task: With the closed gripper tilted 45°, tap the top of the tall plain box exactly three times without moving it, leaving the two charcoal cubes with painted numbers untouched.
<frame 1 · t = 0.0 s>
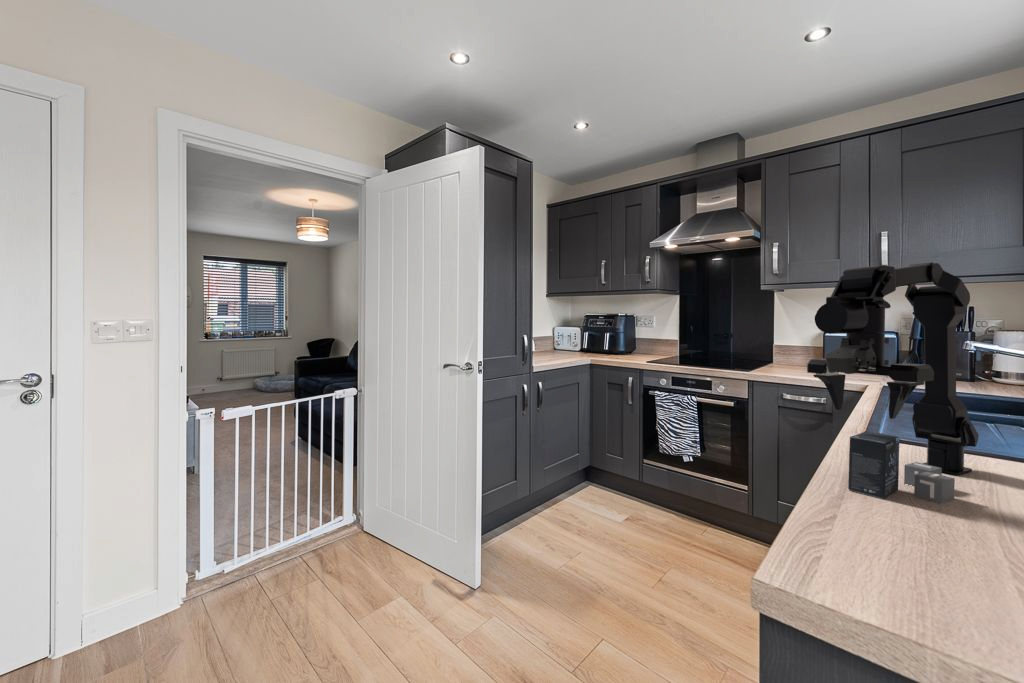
hand: (864, 414, 84), 15 cm above the counter, tool pointing down, fingers open, 9 cm apart
marked cube seven: (933, 497, 80), on the counter
marked cube one: (922, 486, 86), on the counter
box: (873, 491, 84), on the counter
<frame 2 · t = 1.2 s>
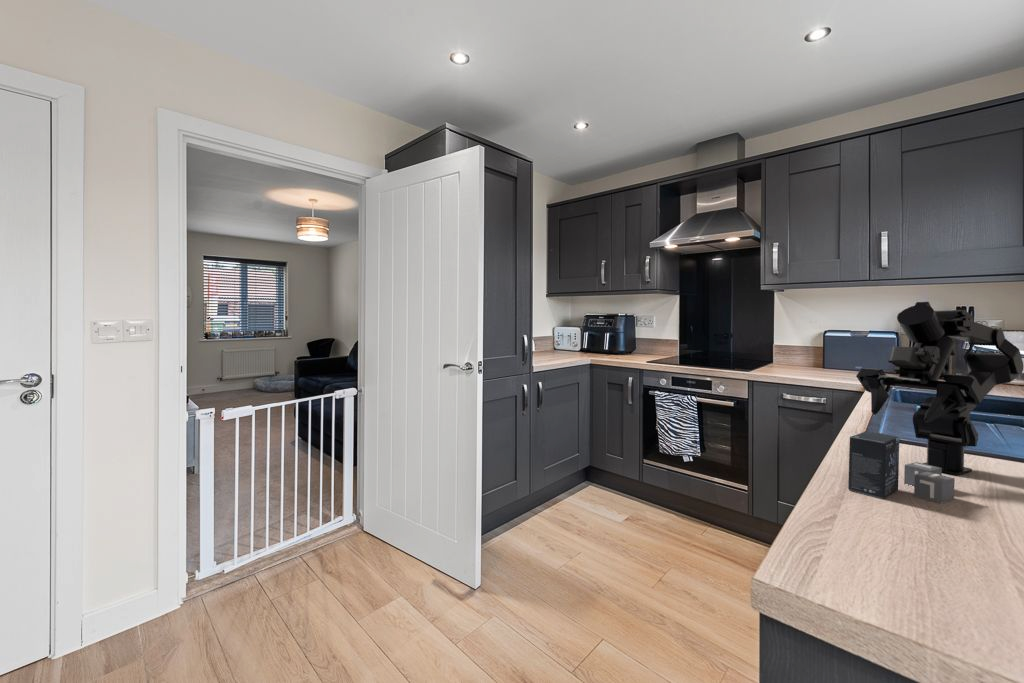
hand: (898, 417, 87), 13 cm above the counter, tool tilted 45°, fingers open, 8 cm apart
nothing on the counter moved.
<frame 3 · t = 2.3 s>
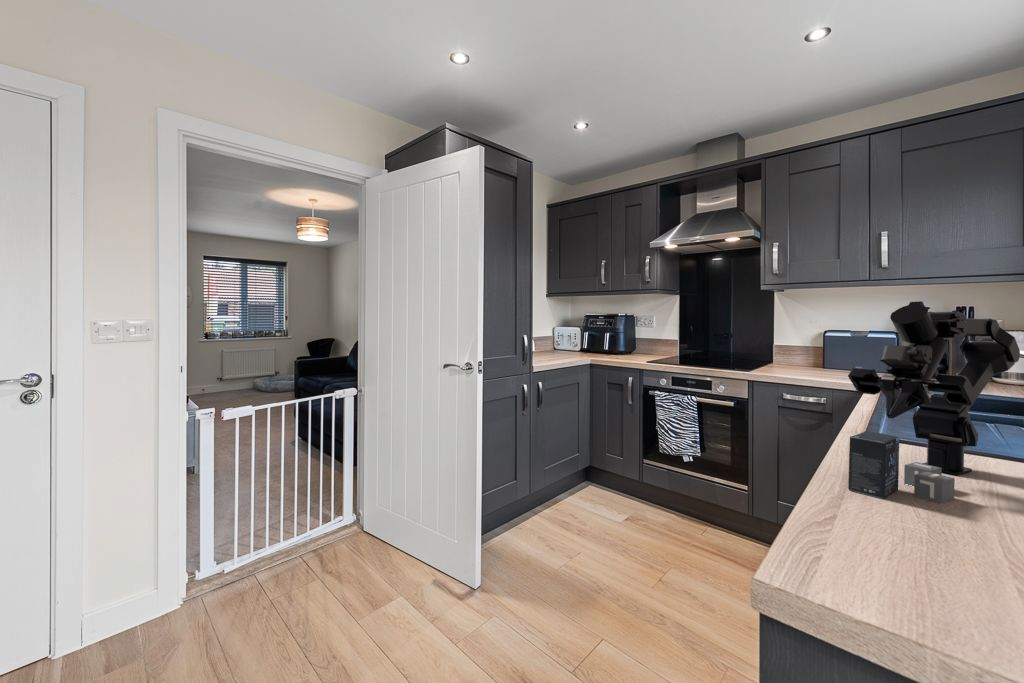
hand: (889, 416, 86), 14 cm above the counter, tool tilted 45°, fingers closed
nothing on the counter moved.
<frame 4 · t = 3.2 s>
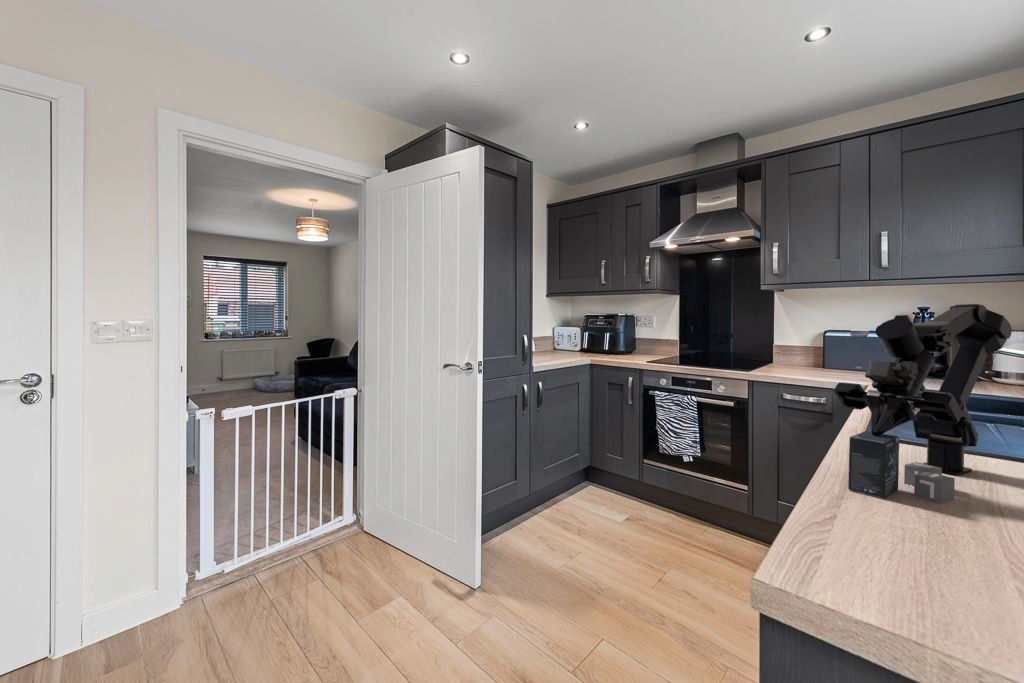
hand: (874, 434, 84), 11 cm above the counter, tool tilted 45°, fingers closed, pressing on box
box: (873, 491, 84), on the counter, touching gripper
everything else where it was.
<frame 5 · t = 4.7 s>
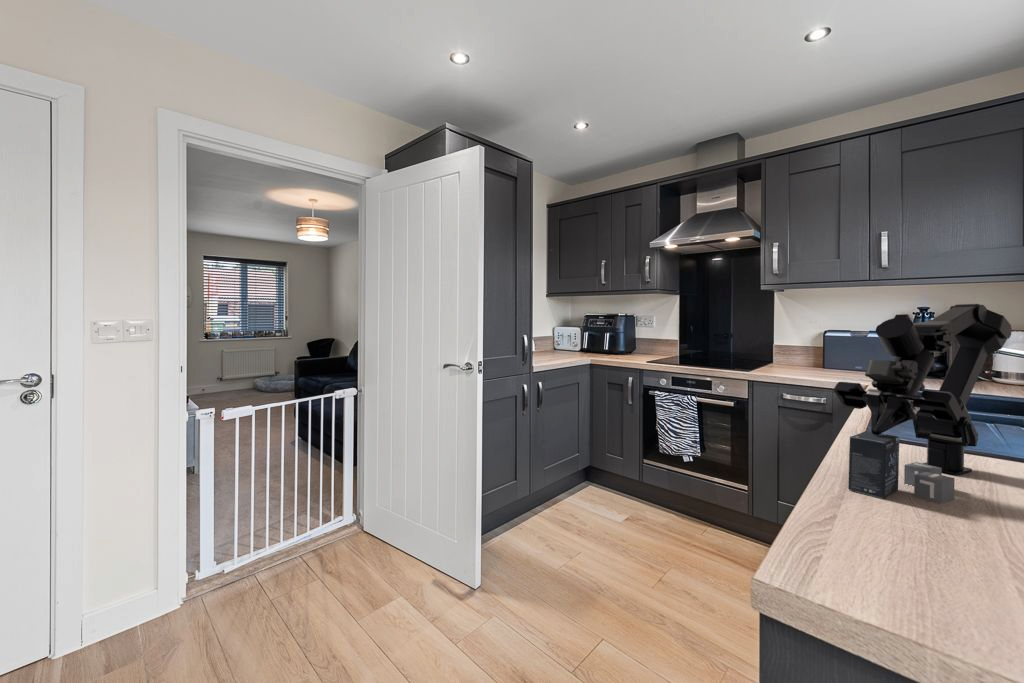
hand: (874, 433, 84), 11 cm above the counter, tool tilted 45°, fingers closed
box: (873, 491, 84), on the counter
everything else where it was.
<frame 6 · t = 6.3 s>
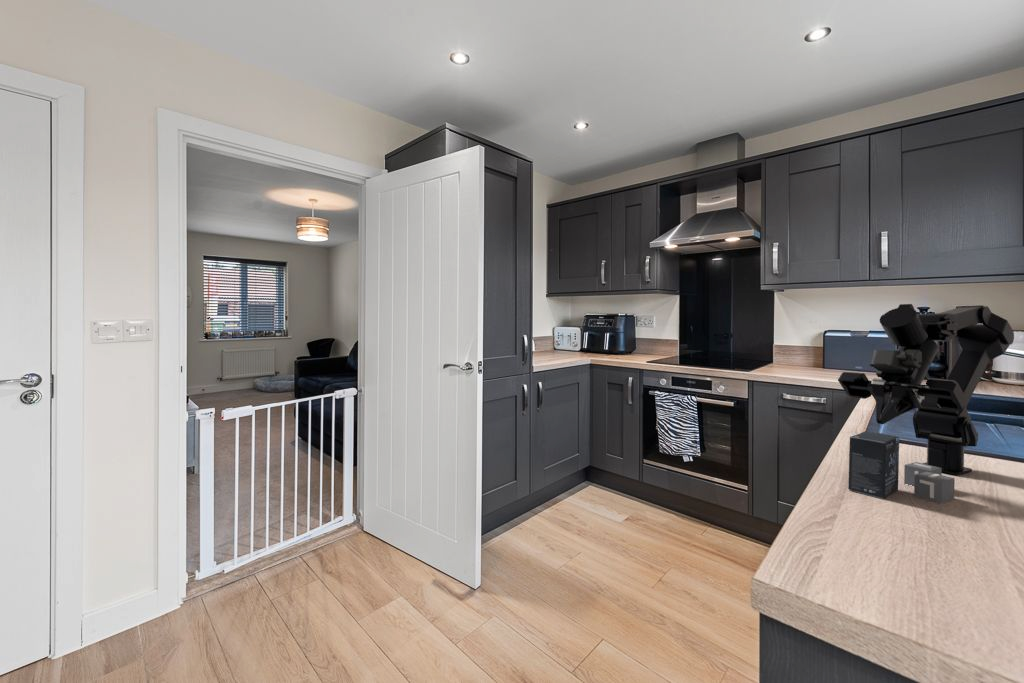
hand: (879, 422, 84), 13 cm above the counter, tool tilted 45°, fingers closed
nothing on the counter moved.
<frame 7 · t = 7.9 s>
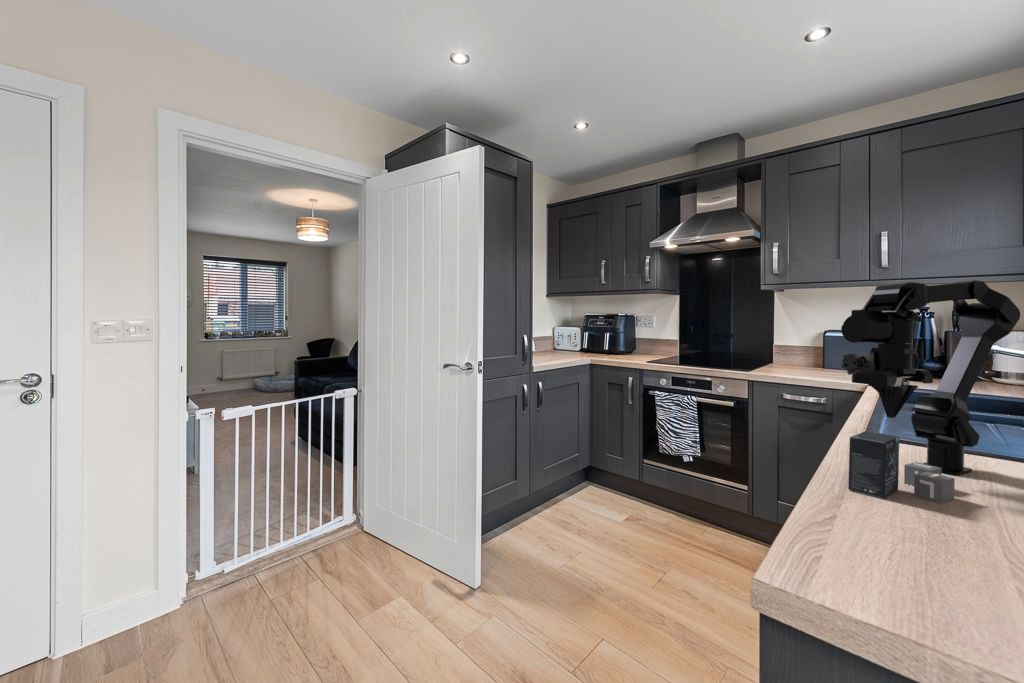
hand: (890, 417, 92), 12 cm above the counter, tool pointing down, fingers closed
nothing on the counter moved.
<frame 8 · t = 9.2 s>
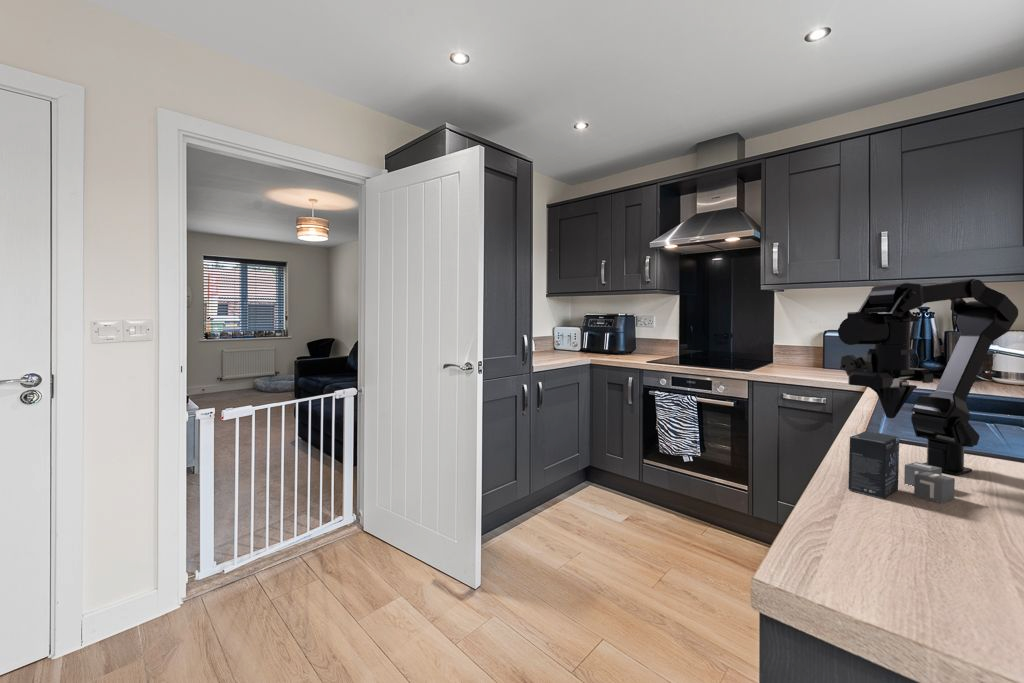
hand: (890, 418, 92), 12 cm above the counter, tool pointing down, fingers closed
nothing on the counter moved.
at the end: box moved 0.3 cm from its start; box tilted 0°; marked cube one moved 0.1 cm from its start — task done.
